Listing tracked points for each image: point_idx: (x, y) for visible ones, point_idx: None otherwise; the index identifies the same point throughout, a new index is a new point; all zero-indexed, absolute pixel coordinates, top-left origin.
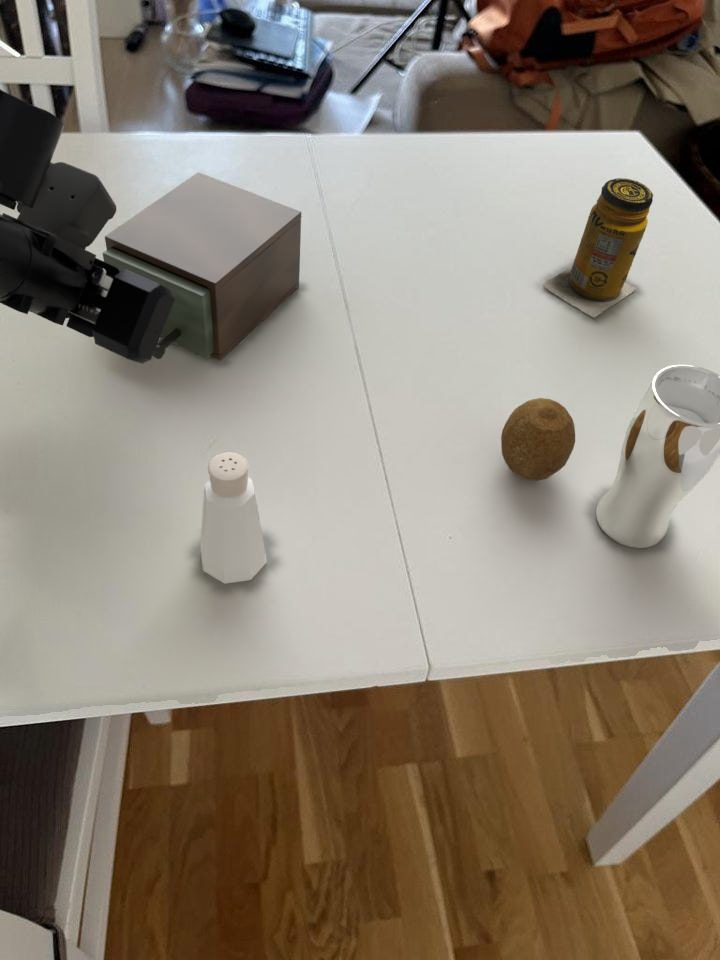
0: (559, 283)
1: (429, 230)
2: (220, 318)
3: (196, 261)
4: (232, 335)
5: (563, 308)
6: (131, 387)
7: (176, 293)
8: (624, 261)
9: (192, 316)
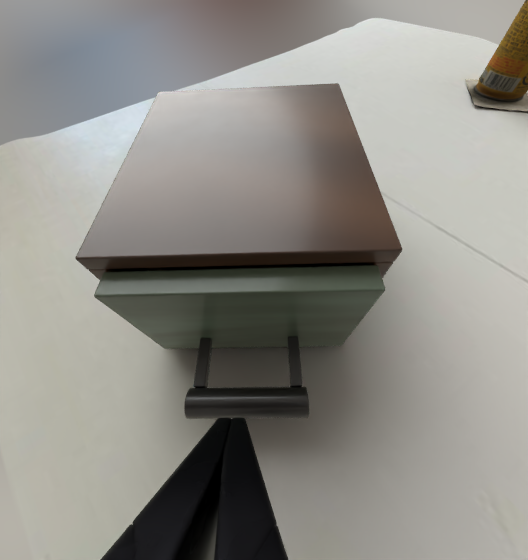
0: (480, 99)
1: (350, 103)
2: None
3: (307, 218)
4: None
5: (508, 115)
6: (281, 471)
7: (306, 303)
8: None
9: (335, 319)
